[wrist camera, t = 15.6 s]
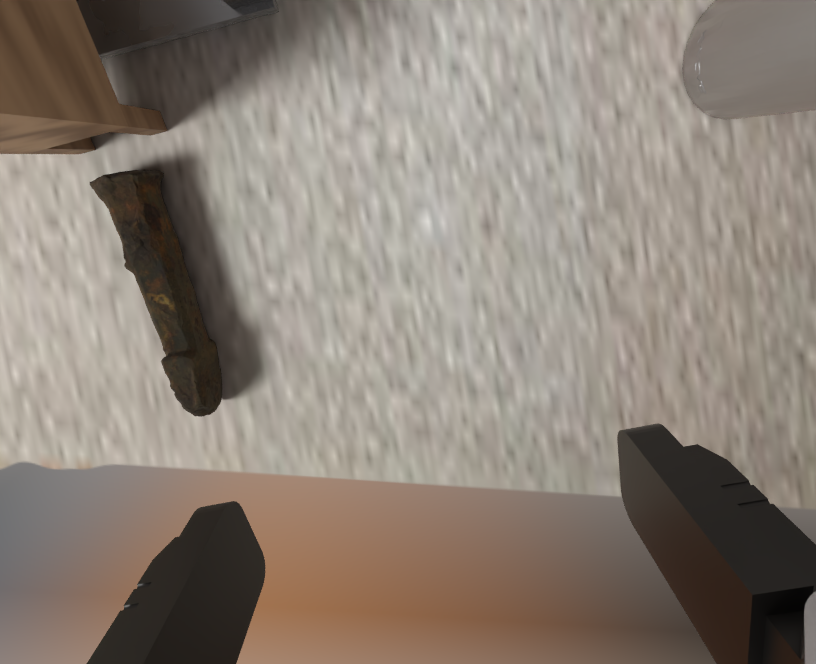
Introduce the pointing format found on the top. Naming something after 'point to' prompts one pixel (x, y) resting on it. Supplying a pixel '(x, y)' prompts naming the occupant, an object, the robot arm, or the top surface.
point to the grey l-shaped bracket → (161, 20)
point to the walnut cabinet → (57, 83)
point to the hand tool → (164, 285)
